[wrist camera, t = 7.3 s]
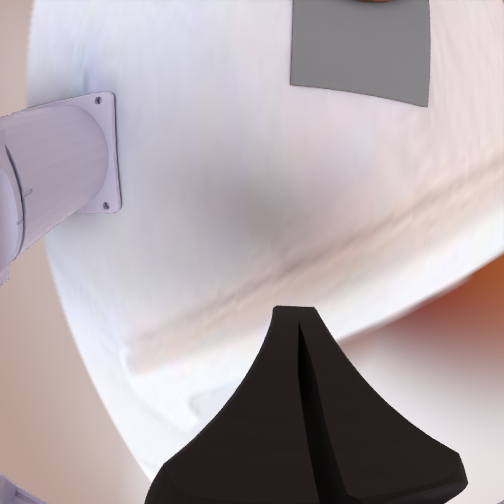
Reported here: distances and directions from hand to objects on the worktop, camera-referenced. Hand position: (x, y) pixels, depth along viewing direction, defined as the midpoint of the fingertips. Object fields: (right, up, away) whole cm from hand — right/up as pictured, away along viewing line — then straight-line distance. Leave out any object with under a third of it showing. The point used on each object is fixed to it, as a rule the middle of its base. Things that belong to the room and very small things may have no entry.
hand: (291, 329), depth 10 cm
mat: (+5, +20, +1) cm, 20 cm away
